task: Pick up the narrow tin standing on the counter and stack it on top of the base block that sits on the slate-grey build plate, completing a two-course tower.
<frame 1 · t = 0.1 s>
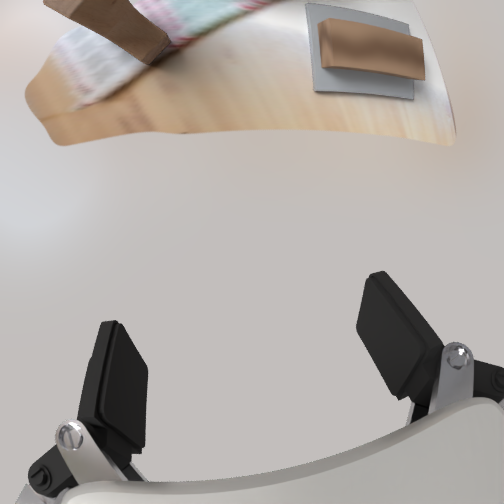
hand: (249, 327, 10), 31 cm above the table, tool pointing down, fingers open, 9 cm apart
base block: (368, 51, 30), point 1 cm above the table, touching build plate
build plate: (364, 51, 30), on the table
wooden block: (137, 37, 25), on the table
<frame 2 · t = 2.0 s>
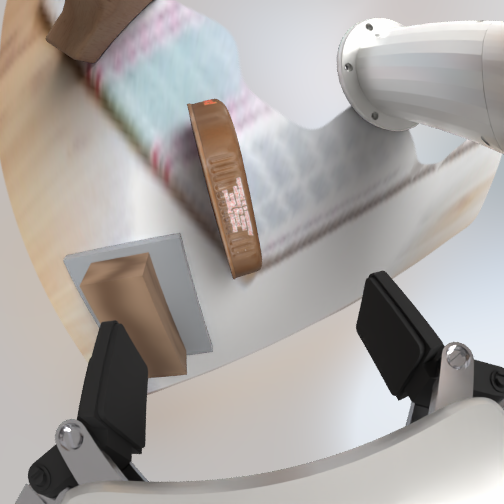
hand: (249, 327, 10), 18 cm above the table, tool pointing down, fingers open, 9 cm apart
tin: (221, 176, 25), on the table
base block: (142, 313, 31), point 1 cm above the table, touching build plate
build plate: (143, 307, 32), on the table
wooden block: (112, 17, 15), on the table
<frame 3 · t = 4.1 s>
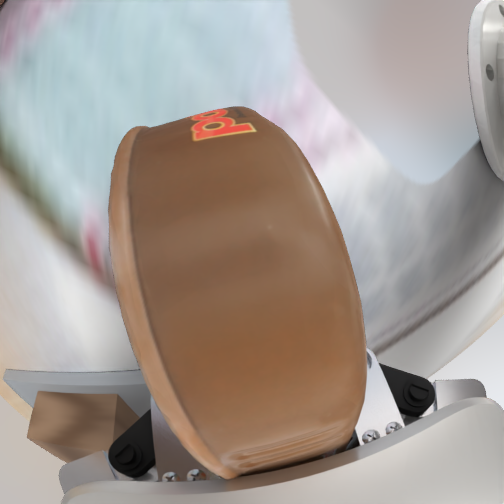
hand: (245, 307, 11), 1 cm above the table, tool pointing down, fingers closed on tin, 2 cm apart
tin: (245, 283, 12), on the table, touching gripper
base block: (125, 438, 17), point 1 cm above the table, touching build plate
build plate: (125, 429, 18), on the table
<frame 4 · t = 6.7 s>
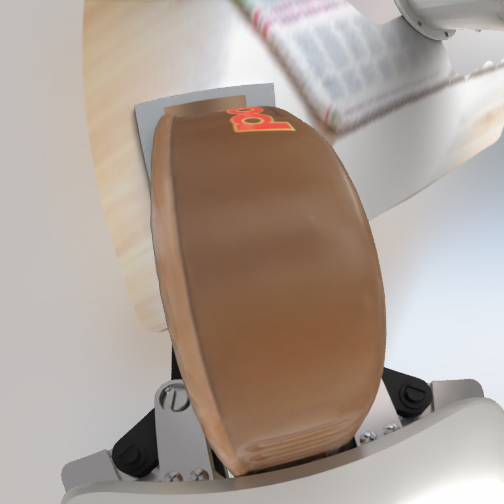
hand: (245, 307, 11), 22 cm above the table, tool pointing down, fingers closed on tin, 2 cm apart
tin: (245, 283, 12), point 20 cm above the table, touching gripper
base block: (214, 173, 28), point 1 cm above the table, touching build plate
build plate: (214, 171, 29), on the table
when the fingers open (7 cm above the table, at t = 9.6 s): tin stays where it is, resting on base block.
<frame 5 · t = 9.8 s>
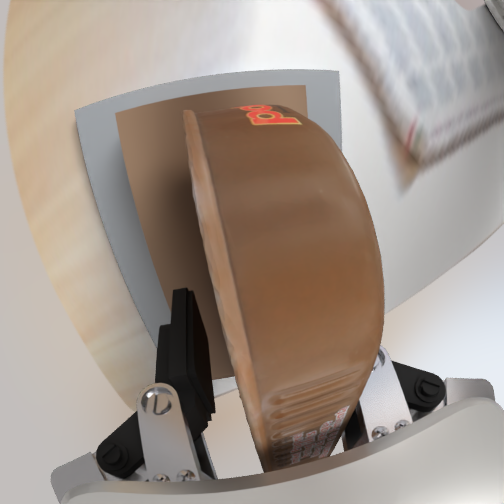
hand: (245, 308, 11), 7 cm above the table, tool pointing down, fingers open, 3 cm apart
tin: (245, 272, 13), point 5 cm above the table, touching base block, gripper
base block: (227, 236, 16), point 1 cm above the table, touching build plate, tin
build plate: (226, 228, 17), on the table
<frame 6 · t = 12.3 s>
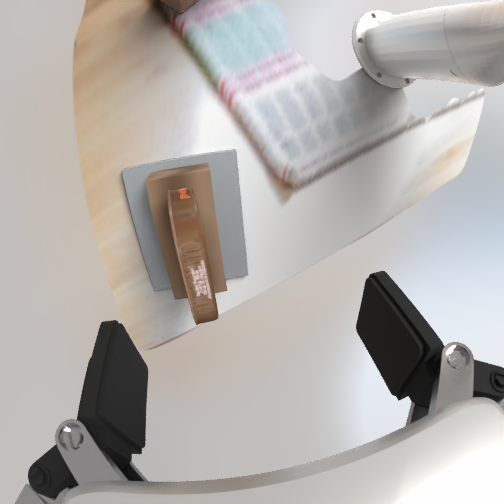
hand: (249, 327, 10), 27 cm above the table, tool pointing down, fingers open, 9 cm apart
tin: (192, 240, 32), point 5 cm above the table, touching base block
base block: (189, 227, 35), point 1 cm above the table, touching build plate, tin
build plate: (189, 224, 36), on the table
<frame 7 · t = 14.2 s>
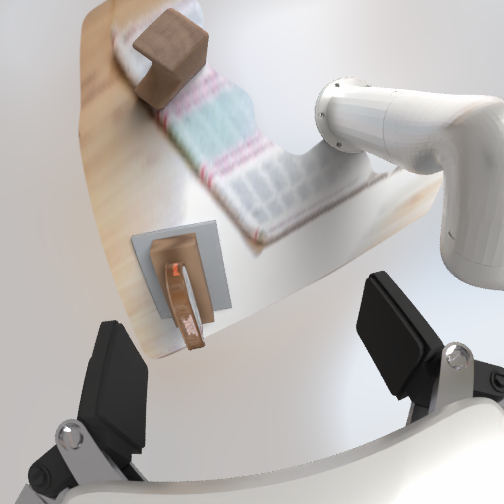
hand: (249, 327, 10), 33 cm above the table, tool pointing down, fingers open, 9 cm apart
tin: (186, 289, 44), point 5 cm above the table, touching base block
base block: (184, 276, 47), point 1 cm above the table, touching build plate, tin
build plate: (184, 273, 48), on the table
wooden block: (172, 77, 31), on the table
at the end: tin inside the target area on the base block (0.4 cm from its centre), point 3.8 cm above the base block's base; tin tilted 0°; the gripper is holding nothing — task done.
